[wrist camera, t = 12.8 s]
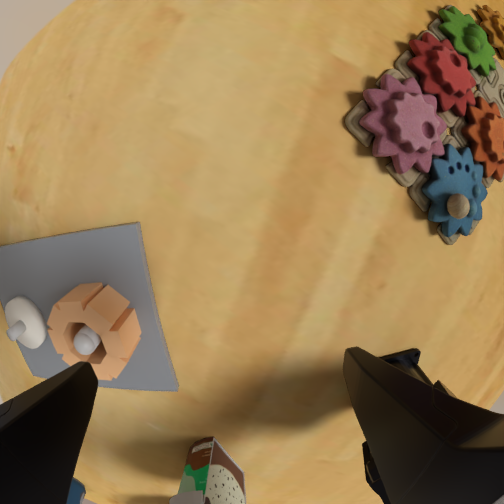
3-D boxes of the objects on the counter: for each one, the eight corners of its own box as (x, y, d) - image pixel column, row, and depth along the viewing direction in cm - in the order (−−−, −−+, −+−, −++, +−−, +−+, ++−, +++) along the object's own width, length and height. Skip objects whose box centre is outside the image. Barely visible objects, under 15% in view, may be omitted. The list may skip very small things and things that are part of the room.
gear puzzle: (463, -17, 12) (481, -28, 8) (536, 82, 15) (555, 80, 11) (331, 122, 18) (352, 112, 14) (448, 258, 21) (476, 272, 17)
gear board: (139, 221, 19) (110, 238, 14) (178, 385, 23) (169, 425, 18) (-9, 247, 19) (-41, 262, 14) (36, 371, 23) (16, 397, 18)
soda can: (51, 467, 31) (32, 507, 19) (75, 475, 31) (57, 519, 19) (69, 484, 33) (54, 522, 21) (93, 491, 33) (79, 533, 21)
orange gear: (127, 280, 19) (108, 300, 16) (149, 355, 21) (137, 382, 18) (60, 285, 19) (37, 302, 16) (84, 353, 21) (68, 375, 18)
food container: (159, 434, 25) (141, 505, 16) (207, 429, 25) (200, 508, 15) (206, 481, 29) (202, 538, 19) (248, 476, 28) (250, 536, 19)
